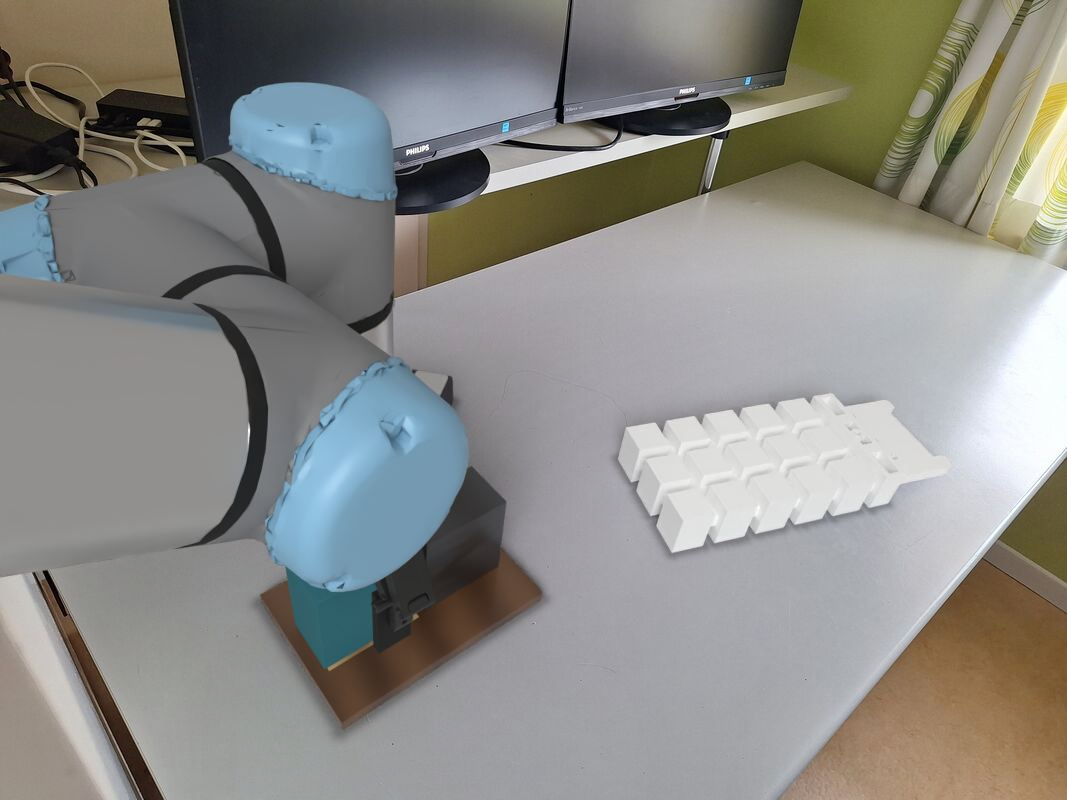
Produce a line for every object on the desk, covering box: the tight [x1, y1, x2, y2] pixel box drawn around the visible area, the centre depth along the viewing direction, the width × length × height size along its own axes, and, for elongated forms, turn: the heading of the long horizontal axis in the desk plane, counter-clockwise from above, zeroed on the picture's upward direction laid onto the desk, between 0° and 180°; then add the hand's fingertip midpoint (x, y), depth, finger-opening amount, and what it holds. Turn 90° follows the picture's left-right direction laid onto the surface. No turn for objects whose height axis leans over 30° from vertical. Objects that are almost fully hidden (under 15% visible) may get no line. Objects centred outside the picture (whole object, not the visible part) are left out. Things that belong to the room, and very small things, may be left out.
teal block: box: [284, 566, 377, 669], centre depth 61 cm, size 8×5×9 cm, turn 130°
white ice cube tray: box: [617, 392, 952, 554], centre depth 83 cm, size 13×5×35 cm
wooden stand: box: [259, 465, 543, 731], centre depth 64 cm, size 20×14×10 cm
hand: (345, 577), depth 59 cm, fingers open, 13 cm apart
